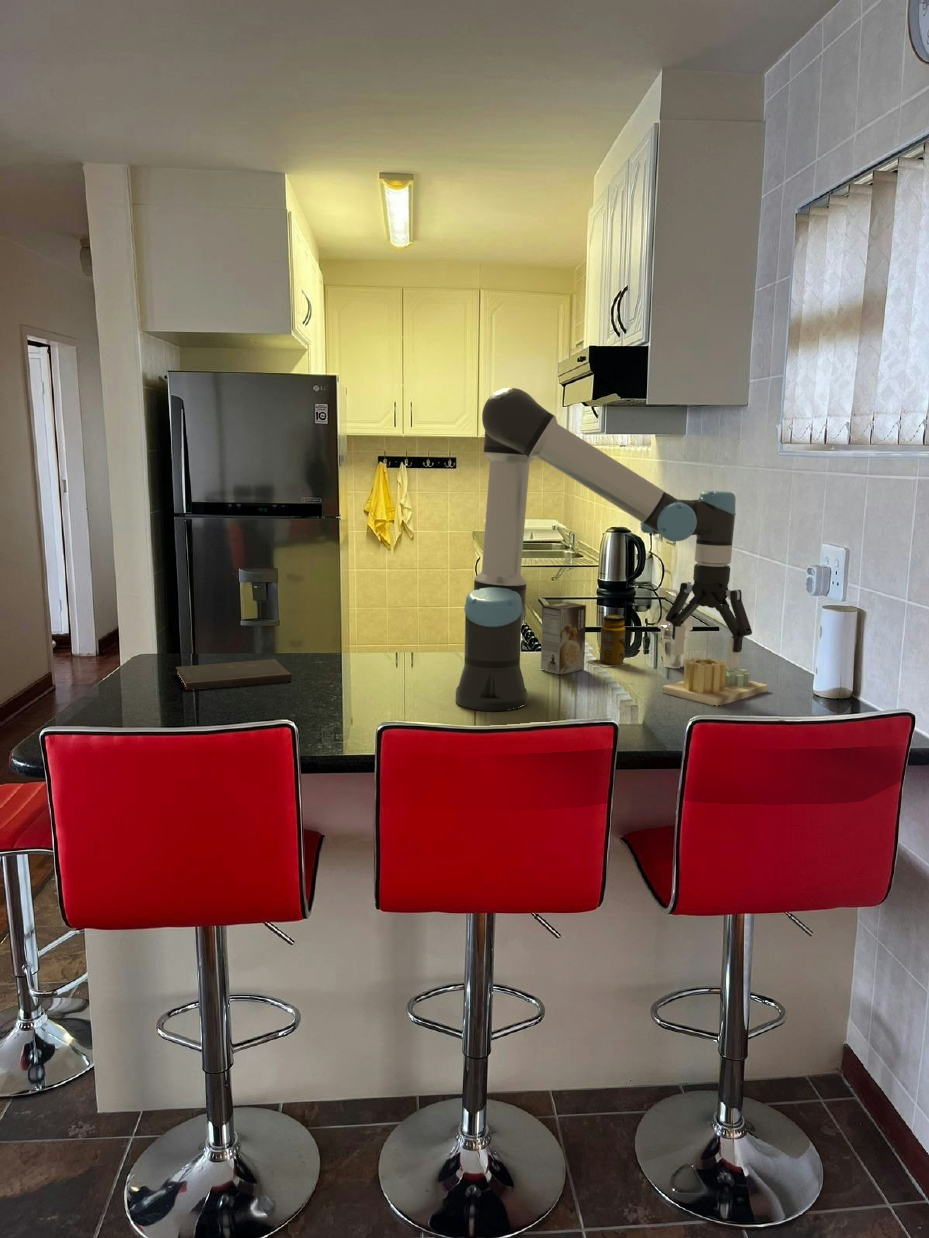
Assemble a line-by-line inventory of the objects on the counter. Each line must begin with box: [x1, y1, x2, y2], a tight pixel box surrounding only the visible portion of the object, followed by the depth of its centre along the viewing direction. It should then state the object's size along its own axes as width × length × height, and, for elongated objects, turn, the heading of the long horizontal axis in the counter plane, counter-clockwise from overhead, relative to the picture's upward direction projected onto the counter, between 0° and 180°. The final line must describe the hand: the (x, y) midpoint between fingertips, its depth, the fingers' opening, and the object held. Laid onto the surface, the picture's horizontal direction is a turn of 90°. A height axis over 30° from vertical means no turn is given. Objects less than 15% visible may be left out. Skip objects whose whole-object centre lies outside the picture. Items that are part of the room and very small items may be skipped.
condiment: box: [587, 614, 631, 668], centre depth 226 cm, size 7×8×12 cm
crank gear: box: [726, 656, 751, 687], centre depth 204 cm, size 9×9×6 cm
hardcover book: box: [175, 658, 292, 690], centre depth 206 cm, size 16×23×2 cm
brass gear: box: [683, 657, 727, 694], centre depth 197 cm, size 9×9×6 cm
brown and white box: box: [540, 601, 587, 675], centre depth 217 cm, size 9×6×16 cm
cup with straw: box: [656, 586, 693, 669], centre depth 223 cm, size 8×9×20 cm
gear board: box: [661, 680, 769, 707], centre depth 201 cm, size 20×14×2 cm
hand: (704, 660), depth 197 cm, fingers open, 13 cm apart
